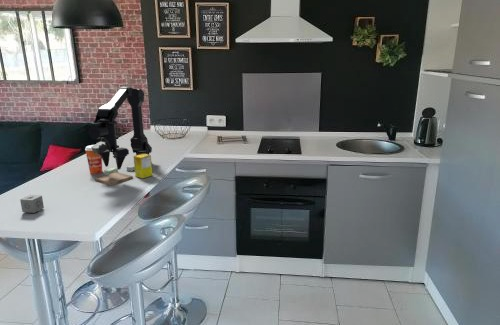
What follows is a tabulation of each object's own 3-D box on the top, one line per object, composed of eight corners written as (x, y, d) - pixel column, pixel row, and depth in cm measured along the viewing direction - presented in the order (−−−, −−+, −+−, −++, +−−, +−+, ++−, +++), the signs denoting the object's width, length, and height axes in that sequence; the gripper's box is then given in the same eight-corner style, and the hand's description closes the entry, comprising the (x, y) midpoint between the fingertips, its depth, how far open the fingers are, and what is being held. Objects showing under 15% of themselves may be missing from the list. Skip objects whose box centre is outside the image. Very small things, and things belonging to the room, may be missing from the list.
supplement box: (145, 174, 179) (143, 153, 176) (152, 176, 176) (151, 155, 173) (135, 177, 175) (133, 155, 172) (142, 179, 171) (140, 157, 168)
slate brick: (134, 169, 189) (134, 164, 188) (139, 170, 188) (138, 164, 187) (127, 172, 183) (126, 167, 183) (132, 173, 182) (131, 167, 182)
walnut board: (117, 175, 179) (116, 172, 179) (132, 179, 172) (132, 176, 172) (95, 181, 169) (94, 178, 169) (111, 185, 163) (110, 182, 162)
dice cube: (22, 212, 135) (20, 199, 133) (32, 207, 139) (30, 194, 138) (34, 212, 134) (32, 200, 132) (43, 207, 139) (41, 195, 137)
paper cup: (86, 176, 177) (83, 148, 173) (89, 172, 184) (85, 145, 181) (104, 175, 179) (100, 147, 175) (105, 170, 186) (102, 144, 183)
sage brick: (113, 173, 183) (112, 167, 182) (118, 173, 182) (117, 167, 181) (104, 176, 178) (104, 170, 177) (109, 177, 177) (109, 171, 176)
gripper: (81, 135, 164) (85, 168, 168) (106, 140, 154) (110, 175, 158) (102, 132, 173) (106, 163, 177) (128, 136, 163) (131, 169, 167)
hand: (112, 167), depth 169 cm, fingers open, 9 cm apart
